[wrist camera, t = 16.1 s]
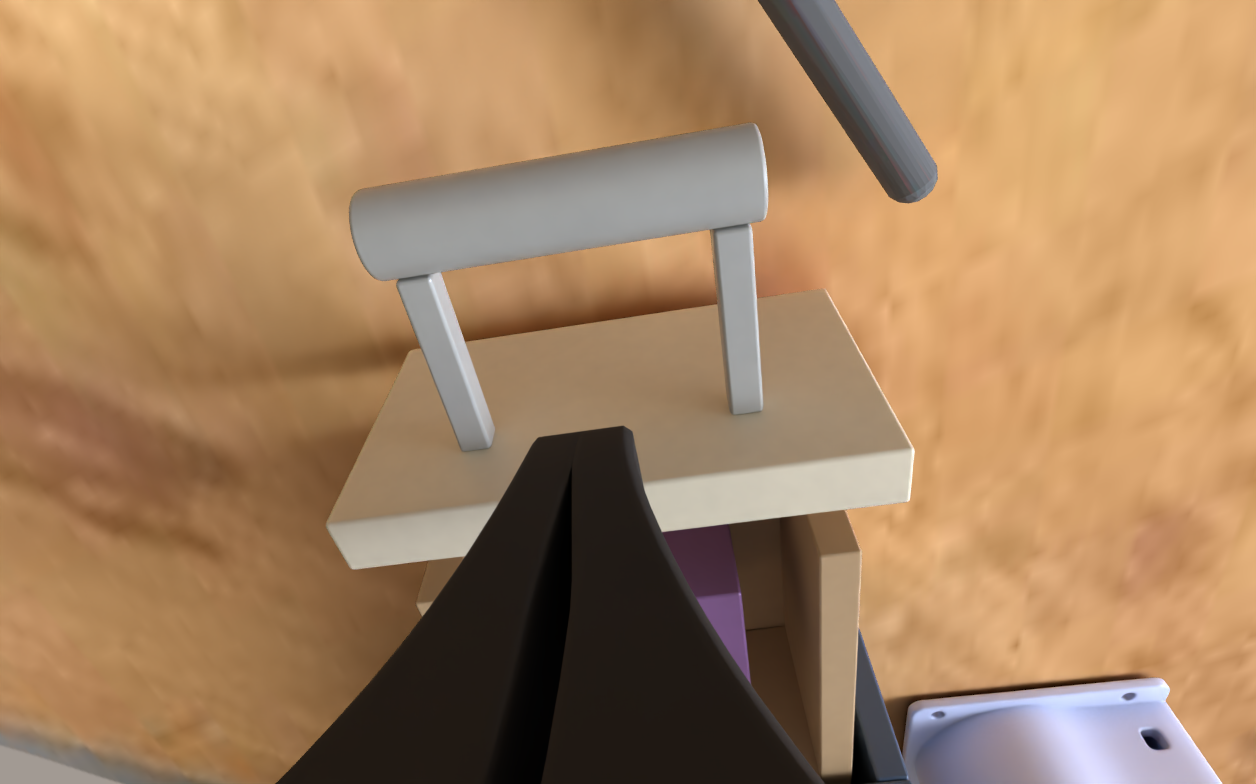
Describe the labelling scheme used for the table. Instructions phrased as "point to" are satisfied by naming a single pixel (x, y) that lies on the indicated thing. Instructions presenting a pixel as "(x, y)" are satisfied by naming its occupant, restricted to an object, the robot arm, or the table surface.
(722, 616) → the block
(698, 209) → the drawer
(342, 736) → the robot arm
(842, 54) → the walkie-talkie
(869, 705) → the cabinet
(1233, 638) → the table surface
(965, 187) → the table surface
